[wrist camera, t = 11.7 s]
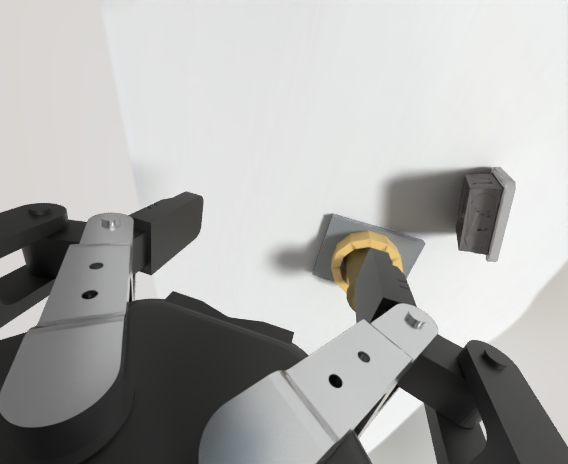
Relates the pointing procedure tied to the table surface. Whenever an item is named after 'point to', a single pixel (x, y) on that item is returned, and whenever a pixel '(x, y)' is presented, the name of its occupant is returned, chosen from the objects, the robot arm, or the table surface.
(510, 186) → the electrical switch
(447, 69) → the table surface
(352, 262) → the cork
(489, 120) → the table surface
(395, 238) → the collar plate
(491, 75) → the table surface
